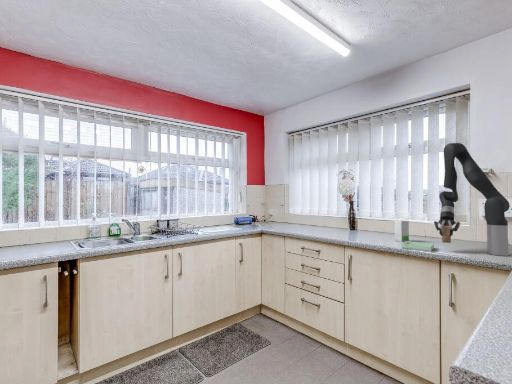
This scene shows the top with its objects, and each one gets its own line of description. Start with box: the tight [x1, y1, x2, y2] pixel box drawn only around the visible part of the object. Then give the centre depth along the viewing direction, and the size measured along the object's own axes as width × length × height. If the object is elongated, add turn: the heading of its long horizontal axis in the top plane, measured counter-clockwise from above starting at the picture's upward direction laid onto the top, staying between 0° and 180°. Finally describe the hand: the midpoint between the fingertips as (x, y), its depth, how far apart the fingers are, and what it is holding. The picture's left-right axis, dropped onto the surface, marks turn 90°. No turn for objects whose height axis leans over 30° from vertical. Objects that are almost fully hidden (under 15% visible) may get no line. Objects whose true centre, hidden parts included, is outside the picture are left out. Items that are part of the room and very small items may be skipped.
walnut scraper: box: [441, 226, 452, 244], centre depth 168 cm, size 4×4×10 cm
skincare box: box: [394, 219, 410, 243], centre depth 207 cm, size 8×7×16 cm
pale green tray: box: [401, 240, 435, 253], centre depth 177 cm, size 16×14×3 cm
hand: (446, 235), depth 166 cm, fingers closed on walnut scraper, 4 cm apart
